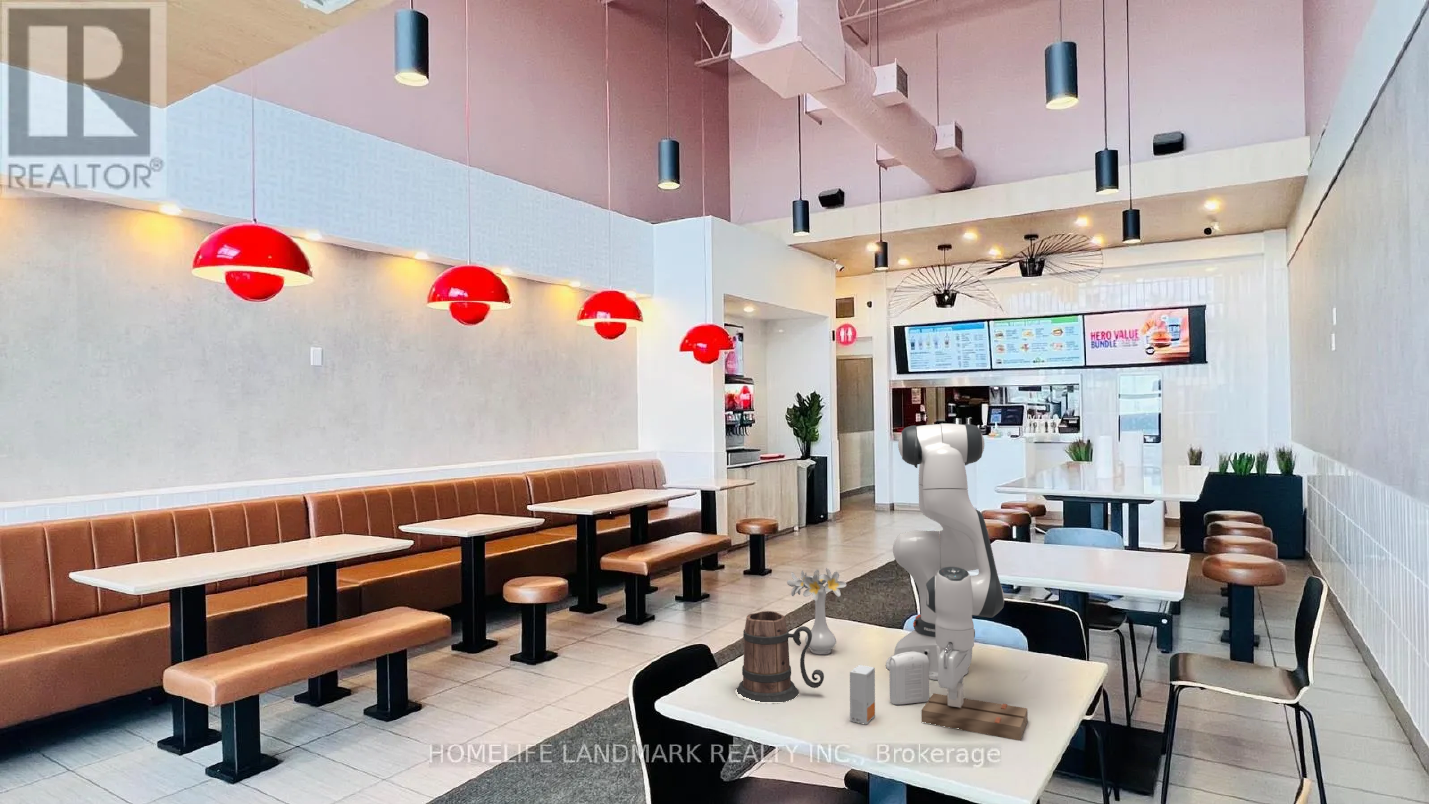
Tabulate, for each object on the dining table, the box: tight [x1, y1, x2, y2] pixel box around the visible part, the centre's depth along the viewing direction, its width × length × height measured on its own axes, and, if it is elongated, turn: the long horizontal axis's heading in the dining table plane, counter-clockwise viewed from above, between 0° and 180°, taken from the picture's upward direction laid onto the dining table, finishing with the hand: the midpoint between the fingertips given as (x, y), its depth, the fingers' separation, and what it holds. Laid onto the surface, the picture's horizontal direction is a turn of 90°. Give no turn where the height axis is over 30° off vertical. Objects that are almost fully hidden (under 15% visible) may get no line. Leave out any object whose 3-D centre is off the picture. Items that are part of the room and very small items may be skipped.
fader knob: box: [947, 683, 965, 708], centre depth 190 cm, size 3×4×6 cm
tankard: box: [736, 610, 825, 703], centre depth 208 cm, size 24×17×20 cm
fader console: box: [920, 693, 1029, 741], centre depth 188 cm, size 22×12×3 cm, turn 61°
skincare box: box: [849, 664, 876, 725], centre depth 190 cm, size 6×4×12 cm
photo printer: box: [888, 652, 930, 705], centre depth 201 cm, size 10×4×12 cm, turn 104°
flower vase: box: [786, 567, 847, 656], centre depth 241 cm, size 13×18×25 cm
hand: (955, 695), depth 190 cm, fingers closed on fader knob, 3 cm apart
